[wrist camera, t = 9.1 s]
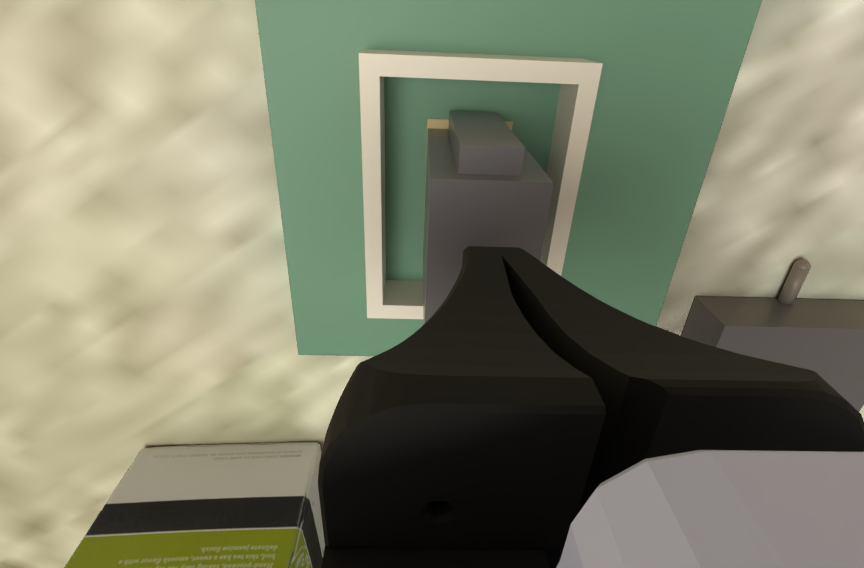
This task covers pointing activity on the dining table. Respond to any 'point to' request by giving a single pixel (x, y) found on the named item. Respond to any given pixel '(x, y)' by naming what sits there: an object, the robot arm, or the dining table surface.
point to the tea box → (212, 510)
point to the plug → (478, 198)
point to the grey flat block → (789, 332)
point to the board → (521, 111)
